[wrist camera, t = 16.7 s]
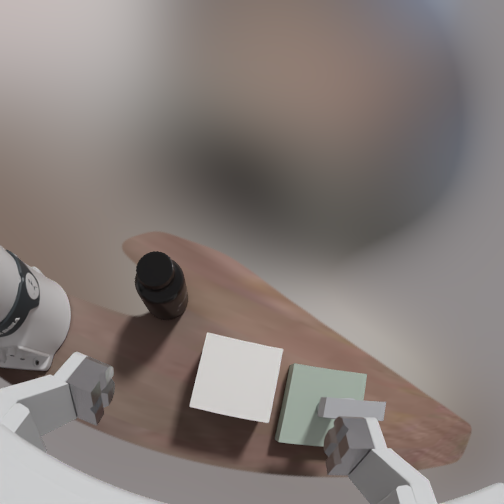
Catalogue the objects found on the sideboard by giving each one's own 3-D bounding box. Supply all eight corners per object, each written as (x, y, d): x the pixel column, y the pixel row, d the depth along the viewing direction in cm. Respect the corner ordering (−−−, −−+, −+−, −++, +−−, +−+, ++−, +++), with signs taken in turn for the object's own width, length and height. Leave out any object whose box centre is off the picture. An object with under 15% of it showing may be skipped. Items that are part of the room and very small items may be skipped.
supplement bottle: (193, 314, 45) (187, 288, 34) (151, 325, 43) (132, 302, 32) (183, 275, 48) (175, 238, 37) (142, 284, 46) (124, 251, 35)
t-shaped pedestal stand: (274, 439, 37) (297, 455, 26) (289, 365, 43) (317, 353, 32) (347, 445, 38) (389, 456, 26) (359, 375, 43) (402, 365, 32)
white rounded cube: (192, 404, 39) (189, 406, 32) (208, 341, 43) (207, 332, 37) (260, 418, 39) (268, 422, 33) (272, 355, 43) (283, 349, 37)
